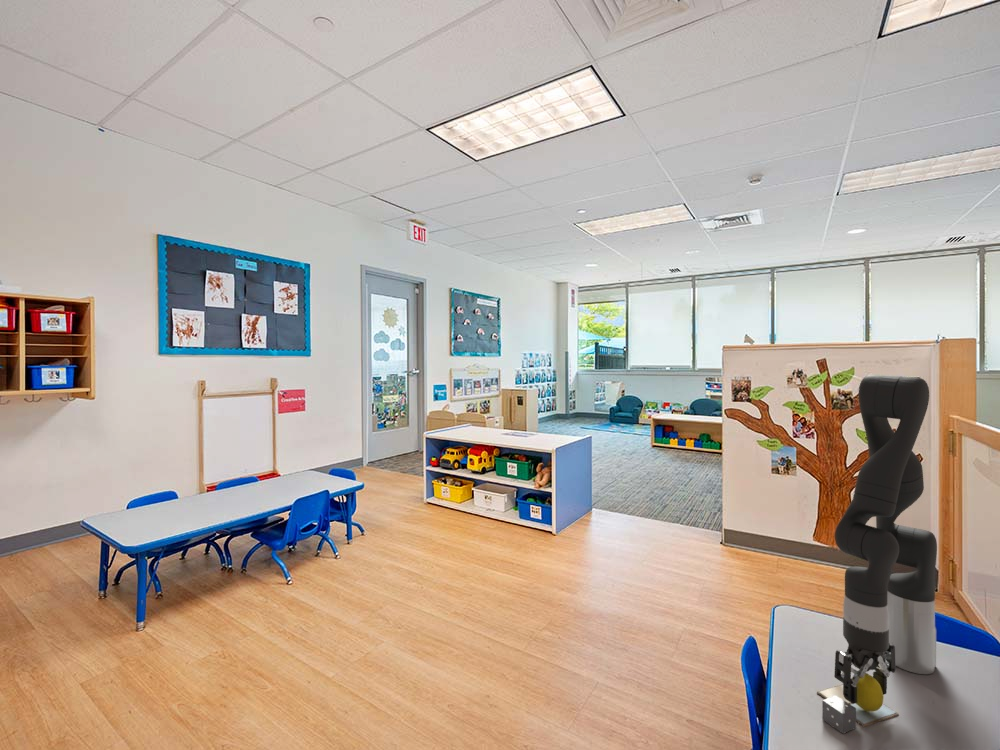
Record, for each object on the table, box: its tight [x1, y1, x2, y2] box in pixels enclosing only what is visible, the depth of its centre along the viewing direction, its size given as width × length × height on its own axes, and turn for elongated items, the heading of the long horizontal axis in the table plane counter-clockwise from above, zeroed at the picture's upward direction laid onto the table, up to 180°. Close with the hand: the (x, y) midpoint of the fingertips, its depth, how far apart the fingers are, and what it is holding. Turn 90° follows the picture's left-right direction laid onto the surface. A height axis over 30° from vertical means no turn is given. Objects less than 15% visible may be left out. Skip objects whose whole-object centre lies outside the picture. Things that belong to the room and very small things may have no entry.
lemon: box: [851, 672, 884, 712], centre depth 97 cm, size 6×6×8 cm
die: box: [821, 695, 857, 734], centre depth 94 cm, size 4×4×4 cm
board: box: [816, 683, 899, 727], centre depth 99 cm, size 10×10×1 cm
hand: (865, 696), depth 96 cm, fingers open, 8 cm apart
